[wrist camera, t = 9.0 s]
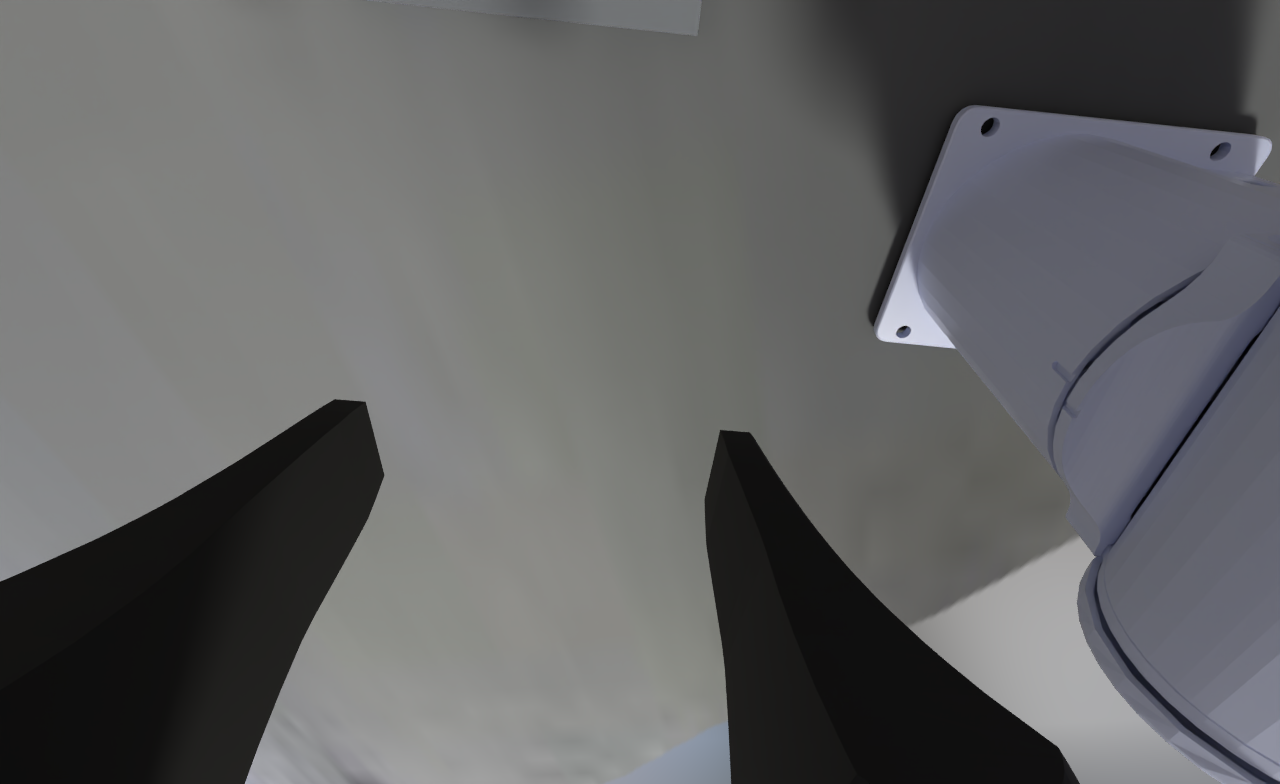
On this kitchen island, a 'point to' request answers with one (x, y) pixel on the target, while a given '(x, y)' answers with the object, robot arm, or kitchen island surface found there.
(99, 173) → the kitchen island surface
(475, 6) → the pin tray
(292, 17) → the kitchen island surface
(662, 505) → the kitchen island surface
